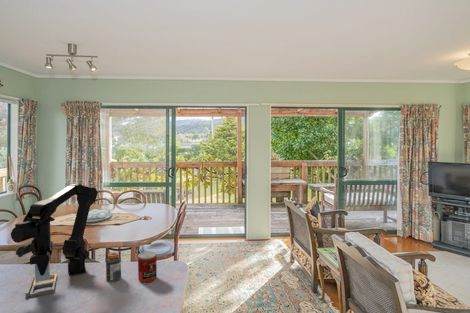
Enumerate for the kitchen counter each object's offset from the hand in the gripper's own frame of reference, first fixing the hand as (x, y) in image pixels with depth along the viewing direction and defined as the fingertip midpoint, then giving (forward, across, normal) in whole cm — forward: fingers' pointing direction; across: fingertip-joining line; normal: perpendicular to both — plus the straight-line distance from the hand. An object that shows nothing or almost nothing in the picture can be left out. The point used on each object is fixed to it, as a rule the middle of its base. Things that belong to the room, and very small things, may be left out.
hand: (43, 272), depth 116 cm
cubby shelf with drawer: (+7, -4, 0) cm, 8 cm away
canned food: (+7, +10, +39) cm, 41 cm away
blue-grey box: (+2, 0, 0) cm, 2 cm away
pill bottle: (+7, +3, +26) cm, 27 cm away
